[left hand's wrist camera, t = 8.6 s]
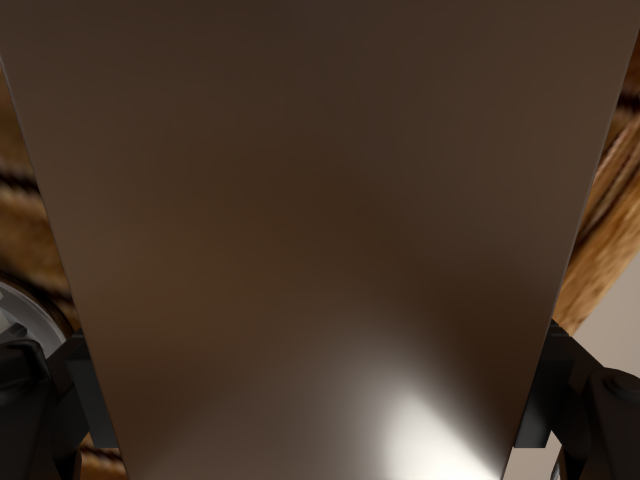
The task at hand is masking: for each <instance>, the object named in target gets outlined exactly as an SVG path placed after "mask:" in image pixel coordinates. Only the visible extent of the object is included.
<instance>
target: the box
mask: <svg viewBox="0 0 640 480" xmlns="http://www.w3.org/2000/svg"><path fill="white" fill-rule="evenodd" d="M639 29H640V0H0V64H1V67H2V71H3V74H4V77H5V80H6V84H7V87H8V90H9V93H10V97H11V100H12V103H13V106H14V110H15V113H16V116H17V119H18V123H19V126H20V129H21V132H22V136H23V139H24V142H25V145H26V149H27V152H28V155H29V158H30V162H31V165H32V168H33V171H34V175H35V178H36V181H37V184H38V188H39V191H40V194H41V197H42V201H43V204H44V207H45V210H46V214H47V217H48V220H49V223H50V227H51V230H52V233H53V236H54V240H55V243H56V246H57V249H58V253H59V256H60V259H61V262H62V266H63V269H64V272H65V275H66V279H67V282H68V285H69V288H70V292H71V295H72V298H73V301H74V305H75V308H76V311H77V314H78V318H79V321H80V324H81V327H82V331H83V334H84V337H85V340H86V344H87V347H88V350H89V353H90V357H91V360H92V363H93V366H94V370H95V373H96V376H97V379H98V383H99V386H100V389H101V392H102V396H103V399H104V402H105V405H106V409H107V412H108V415H109V418H110V422H111V425H112V428H113V431H114V435H115V438H116V441H117V444H118V448H119V451H120V454H121V457H122V461H123V464H124V467H125V470H126V474H127V477H128V480H503V477H504V473H505V470H506V467H507V464H508V460H509V457H510V454H511V450H512V447H513V444H514V441H515V437H516V434H517V431H518V427H519V424H520V421H521V417H522V414H523V411H524V408H525V404H526V401H527V398H528V394H529V391H530V388H531V385H532V381H533V378H534V375H535V371H536V368H537V365H538V361H539V358H540V355H541V352H542V348H543V345H544V342H545V338H546V335H547V332H548V329H549V325H550V322H551V319H552V315H553V312H554V309H555V305H556V302H557V299H558V296H559V292H560V289H561V286H562V282H563V279H564V276H565V273H566V269H567V266H568V263H569V259H570V256H571V253H572V249H573V246H574V243H575V240H576V236H577V233H578V230H579V226H580V223H581V220H582V217H583V213H584V210H585V207H586V203H587V200H588V197H589V193H590V190H591V187H592V184H593V180H594V177H595V174H596V170H597V167H598V164H599V161H600V157H601V154H602V151H603V147H604V144H605V141H606V137H607V134H608V131H609V128H610V124H611V121H612V118H613V114H614V111H615V108H616V105H617V101H618V98H619V95H620V91H621V88H622V85H623V81H624V78H625V75H626V72H627V68H628V65H629V62H630V58H631V55H632V52H633V49H634V45H635V42H636V39H637V35H638V32H639Z"/></svg>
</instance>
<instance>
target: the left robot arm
mask: <svg viewBox="0 0 640 480" xmlns="http://www.w3.org/2000/svg"><path fill="white" fill-rule="evenodd" d="M551 430H552V431H553V433H554V434H555V436H556V437H557V438H558V440H559V441H560V443H561V444H562V447H561V449H560V452H559V455H558V457H557V460H556V463H555V465H554V468H553V471H552V474H551V479H550V480H557V478H558V475H560V480H640V378H638V377H636V376H634V375H632V374H629V373H626V372H623V371H621V370H617V369H612V368H606V367H603V366H602V365H601V364H600V363H599V362H598V361H597V360H596V359H595V358H594V357H593V356H592V355H591V354H589V353H588V352H587V351H586V350H585V349H584V348H583V347H582V346H581V345H580V344H579V343H578V342H577V341H576V340H574V339H573V338H572V337H569V334H568V333H567V332H566V331H565V330H564V329H563V328H562V327H559V325H558V324H557V323H556V322H555V321H554V320H553V319H551V322H550V325H549V329H548V332H547V335H546V338H545V342H544V345H543V348H542V352H541V355H540V358H539V361H538V365H537V368H536V371H535V375H534V378H533V381H532V385H531V388H530V391H529V394H528V398H527V401H526V404H525V408H524V411H523V414H522V417H521V421H520V424H519V427H518V431H517V434H516V437H515V441H514V444H513V447H514V448H545V447H546V444H547V441H548V438H549V435H550V432H551ZM88 432H90V435H91V438H92V441H93V444H94V447H95V448H118V444H117V441H116V438H115V435H114V431H113V428H112V425H111V422H110V418H109V415H108V412H107V409H106V405H105V402H104V399H103V396H102V392H101V389H100V386H99V383H98V379H97V376H96V373H95V370H94V366H93V363H92V360H91V357H90V353H89V350H88V347H87V344H86V340H85V337H84V334H83V331H82V327H81V328H79V329H78V330H77V331H76V332H75V333H74V334H73V332H72V330H71V328H70V327H69V325H68V324H67V322H66V321H65V319H64V318H63V317H62V315H61V314H60V313H59V312H58V311H57V310H56V309H55V308H54V306H53V305H52V304H50V303H49V302H48V301H47V300H46V299H45V298H44V297H43V296H41V295H40V294H39V293H38V292H36V291H35V290H33V289H32V288H30V287H29V286H27V285H26V284H24V283H22V282H21V281H19V280H17V279H15V278H13V277H11V276H9V275H7V274H5V273H2V272H0V480H80V473H81V463H82V457H81V452H80V449H79V447H78V446H79V445H80V443H81V442H82V440H83V439H84V438H85V436H86V435H87V433H88Z"/></svg>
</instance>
